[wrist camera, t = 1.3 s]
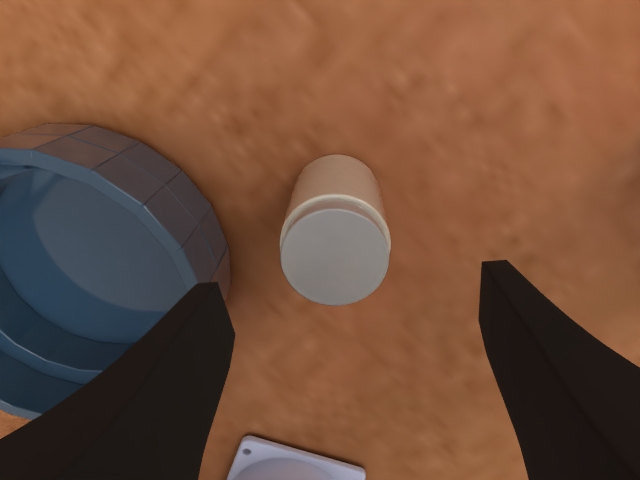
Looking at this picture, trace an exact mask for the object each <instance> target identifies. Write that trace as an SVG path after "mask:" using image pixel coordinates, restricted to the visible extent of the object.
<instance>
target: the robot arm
mask: <svg viewBox="0 0 640 480" xmlns="http://www.w3.org/2000/svg"><path fill="white" fill-rule="evenodd" d="M479 324H480V328H481V333H482V337H483V341H484V346H485V350H486V354H487V357H488V359H489V362H490V365H491V368H492V370H493V373H494V376H495V379H496V381H497V384H498V387H499V389H500V392H501V395H502V397H503V400H504V403H505V405H506V408H507V411H508V413H509V416H510V419H511V421H512V424H513V427H514V429H515V432H516V435H517V438H518V441H519V444H520V448H521V451H522V455H523V459H524V462H525V466H526V470H527V474H528V478H529V480H640V368H639V367H638V366H636V365H635V364H633V363H631V362H630V361H628V360H627V359H625V358H624V357H622V356H621V355H619V354H618V353H616V352H615V351H613V350H612V349H610V348H609V347H607V346H606V345H605V344H603V343H602V342H600V341H599V340H598V339H596V338H595V337H593V336H592V335H591V334H590V333H588V332H587V331H586V330H584V329H583V328H582V327H581V326H579V325H578V324H577V323H575V322H574V321H573V320H572V319H571V318H569V317H568V316H567V315H566V314H565V313H563V312H562V311H561V310H560V309H559V308H558V307H557V306H555V305H554V304H553V303H552V302H551V301H550V300H549V299H547V298H546V297H545V296H544V295H543V294H542V293H541V292H540V291H539V290H538V289H537V288H535V287H534V286H533V285H532V284H531V283H530V282H529V281H528V280H527V279H526V278H525V277H524V276H523V275H522V274H521V273H520V272H519V271H518V270H517V269H516V268H515V267H514V266H513V265H511V264H510V263H509V262H508V261H507V260H498V261H485V262H482V268H481V286H480V304H479ZM234 340H235V332H234V329H233V326H232V323H231V320H230V317H229V314H228V311H227V308H226V305H225V302H224V299H223V296H222V293H221V290H220V287H219V284H218V282H205V283H197V284H196V285H194V286H193V287H192V288H191V289H190V290H189V291H188V292H187V293H186V294H185V295H184V296H183V297H182V298H181V299H180V300H179V301H178V302H177V303H176V304H175V305H174V306H173V307H172V308H171V309H170V310H169V311H168V312H167V313H166V314H165V315H164V316H163V317H162V318H161V319H160V320H159V321H158V322H157V323H156V324H155V325H154V326H153V327H152V328H151V329H150V330H149V331H148V332H147V333H146V334H145V335H144V336H142V337H141V338H140V339H139V340H138V341H137V342H136V343H135V344H134V345H133V346H131V347H130V348H129V349H128V350H127V351H126V352H125V353H124V354H123V355H121V356H120V357H119V358H118V359H117V360H116V361H115V362H113V363H112V364H111V365H110V366H109V367H107V368H106V369H105V370H104V371H102V372H101V373H100V374H98V375H97V376H96V377H95V378H93V379H92V380H91V381H89V382H88V383H87V384H85V385H84V386H83V387H81V388H80V389H79V390H77V391H76V392H74V393H73V394H71V395H70V396H68V397H67V398H65V399H64V400H63V401H61V402H60V403H58V404H57V405H55V406H54V407H52V408H51V409H49V410H48V411H46V412H45V413H43V414H42V415H40V416H39V417H37V418H35V419H34V420H32V421H30V422H29V423H27V424H25V425H24V426H22V427H20V428H19V429H17V430H15V431H14V432H12V433H10V434H8V435H7V436H5V437H3V438H1V439H0V480H198V476H199V471H200V467H201V462H202V457H203V453H204V449H205V445H206V442H207V438H208V435H209V432H210V429H211V426H212V422H213V419H214V416H215V413H216V410H217V407H218V404H219V400H220V397H221V394H222V391H223V388H224V384H225V381H226V378H227V375H228V371H229V368H230V363H231V358H232V352H233V346H234ZM248 449H249V450H248ZM365 477H366V474H365V470H364V469H363V468H361V467H358V466H355V465H351V464H348V463H344V462H341V461H337V460H334V459H330V458H327V457H323V456H320V455H317V454H313V453H310V452H306V451H303V450H299V449H296V448H292V447H289V446H285V445H282V444H278V443H275V442H271V441H268V440H264V439H261V438H258V437H254V436H245V437H243V439H242V441H241V443H240V446H239V448H238V451H237V453H236V456H235V459H234V461H233V464H232V466H231V469H230V471H229V474H228V476H227V479H226V480H365Z"/></svg>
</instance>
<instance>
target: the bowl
mask: <svg viewBox="0 0 640 480" xmlns="http://www.w3.org/2000/svg"><path fill="white" fill-rule="evenodd" d="M205 282H218V284H219V287H220V290H221V293H222V296H223V299H224V302H226V298H227V295H228V292H229V289H230V286H231V273H230V258H229V246H228V244H227V241H226V239H225V236H224V234H223V232H222V229H221V227H220V224H219V222H218V220H217V217H216V215H215V212H214V210H213V208H212V206H211V204H210V203H209V202H208V201H207V199H206V198H205V197H204V196H203V194H202V193H201V192H200V191H199V190H198V188H197V187H196V186H195V185H194V183H193V182H192V181H191V180H190V179H189V177H188V176H187V175H186V174H185V173H184V171H181V169H180V168H179V167H177V166H176V165H174V164H173V163H171V162H170V161H169V160H167V159H166V158H164V157H163V156H161V155H160V154H158V153H157V152H156V151H154V150H153V149H151V148H150V147H148V146H147V145H146V144H144V143H142V142H140V141H138V140H135V139H132V138H129V137H127V136H124V135H121V134H118V133H115V132H112V131H109V130H106V129H104V128H101V127H98V126H93V125H79V124H50V123H48V124H43V125H40V126H37V127H34V128H30V129H27V130H24V131H21V132H18V133H15V134H12V135H9V136H6V137H2V138H0V410H2V411H4V412H6V413H8V414H11V415H15V416H18V417H22V418H26V419H29V420H34V419H35V418H37V417H39V416H40V415H42V414H43V413H45V412H46V411H48V410H49V409H51V408H52V407H54V406H55V405H57V404H58V403H60V402H61V401H63V400H64V399H65V398H67V397H68V396H70V395H71V394H73V393H74V392H76V391H77V390H79V389H80V388H81V387H83V386H84V385H85V384H87V383H88V382H89V381H91V380H92V379H93V378H95V377H96V376H97V375H98V374H100V373H101V372H102V371H104V370H105V369H106V368H107V367H109V366H110V365H111V364H112V363H113V362H115V361H116V360H117V359H118V358H119V357H120V356H121V355H123V354H124V353H125V352H126V351H127V350H128V349H129V348H130V347H131V346H133V345H134V344H135V343H136V342H137V341H138V340H139V339H140V338H141V337H142V336H144V335H145V334H146V333H147V332H148V331H149V330H150V329H151V328H152V327H153V326H154V325H155V324H156V323H157V322H158V321H159V320H160V319H161V318H162V317H163V316H164V315H165V314H166V313H167V312H168V311H169V310H170V309H171V308H172V307H173V306H174V305H175V304H176V303H177V302H178V301H179V300H180V299H181V298H182V297H183V296H184V295H185V294H186V293H187V292H188V291H189V290H190V289H191V288H192V287H193V286H194V285H196V284H197V283H205Z"/></svg>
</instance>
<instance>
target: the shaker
mask: <svg viewBox="0 0 640 480" xmlns="http://www.w3.org/2000/svg"><path fill="white" fill-rule="evenodd" d="M279 244H280V262H281V267H282V270H283V273H284V275H285V277H286V279H287V281H288V282H289V284H290V285H291V286H292V287H293V288H294V289H295V290H296V291H297V292H298V293H299V294H301V295H302V296H304V297H305V298H307V299H309V300H311V301H313V302H316V303H320V304H324V305H333V306H338V305H346V304H351V303H354V302H357V301H359V300H361V299H363V298H365V297H367V296H368V295H370V294H371V293H372V292H373V291H374V290H375V289H376V288H377V287H378V286H379V285H380V283H381V282H382V281H383V279H384V277H385V275H386V272H387V270H388V265H389V255H390V250H391V237H390V233H389V228H388V224H387V220H386V215H385V211H384V207H383V203H382V198H381V194H380V190H379V186H378V182H377V180H376V178H375V176H374V174H373V173H372V171H371V170H370V169H369V168H368V167H367V166H366V165H365V164H364V163H362V162H361V161H359V160H357V159H355V158H353V157H350V156H346V155H337V154H334V155H327V156H323V157H320V158H318V159H316V160H314V161H312V162H311V163H310V164H308V165H307V166H306V167H305V168H304V169H303V170H302V172H301V173H300V175H299V176H298V178H297V180H296V183H295V186H294V190H293V193H292V196H291V200H290V203H289V206H288V210H287V213H286V216H285V220H284V223H283V226H282V230H281V233H280V241H279Z"/></svg>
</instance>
